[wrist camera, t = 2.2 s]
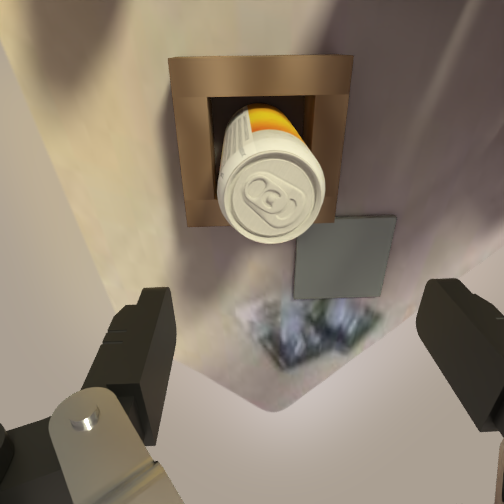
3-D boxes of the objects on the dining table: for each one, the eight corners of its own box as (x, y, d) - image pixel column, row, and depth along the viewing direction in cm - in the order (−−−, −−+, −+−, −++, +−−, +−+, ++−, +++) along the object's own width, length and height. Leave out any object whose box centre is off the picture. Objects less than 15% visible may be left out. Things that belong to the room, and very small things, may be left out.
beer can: (263, 183, 34) (280, 267, 21) (211, 145, 32) (193, 212, 19) (305, 131, 32) (353, 189, 19) (251, 86, 30) (263, 116, 17)
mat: (394, 215, 36) (397, 217, 36) (378, 293, 41) (380, 296, 41) (297, 217, 36) (298, 220, 35) (293, 296, 41) (293, 299, 40)
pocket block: (337, 54, 29) (353, 55, 25) (323, 203, 35) (334, 222, 31) (177, 56, 28) (167, 58, 24) (193, 206, 35) (187, 227, 31)
